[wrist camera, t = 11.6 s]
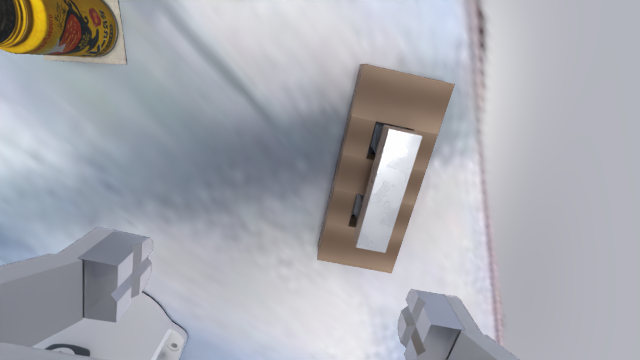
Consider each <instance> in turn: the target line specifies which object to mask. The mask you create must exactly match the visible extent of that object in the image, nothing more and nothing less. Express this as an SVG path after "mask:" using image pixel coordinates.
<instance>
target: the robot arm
mask: <svg viewBox="0 0 640 360" xmlns="http://www.w3.org/2000/svg"><path fill="white" fill-rule="evenodd" d="M152 251H153V240H152V239H151V238H150V237H145V236H140V235H136V234H131V233H126V232H122V231H116V230H113V229H107V228H102V227H99V228H95V229H93V230H92V231H90V232H89V233H87V234H86V235H84V236H83V237H82V238H80V239H79V240H77V241H76V242H74V243H73V244H71V245H70V246H68V247H67V248H65V249H64V250H62V251H61V252H59V253H58V254H56V255H54V254H47V255H43V256H39V257H35V258H31V259H27V260H23V261H18V262H14V263H10V264H6V265H2V266H0V360H180V357H181V354H182V352H183V349H184V346H185V343H186V341H187V333H186V332H185V331H184V330H183V329H182V328H181V327H179V326H178V325H176V324H175V323H173V322H172V321H171V320H170V319H169V318H168V316H167V315H166V314H165V312H164V311H163V309H162V308H161V307H160V306H159V305H158V304H157V303H156V302H155V301H154V300H153V299H151V298H150V297H149V296H147V295H146V294H144V293H142V291H143V289H144V288H145V286H146V284H147V282H148V280H149V277H150V273H151V266H152V263H151V262H150V260H149V258H148V257H147V256H148V255H149V254H150V253H151V252H152ZM406 302H407V304H408V306H407V307H406V308H404V309H403V310H402V311H401V313H400V316H399V319H398V336H399V339H400V342H401V343H402V344H403V345H404V346H405V347H406V351H405V353H404V356H405V359H406V360H520V359H518V358H517V357H516V356H514V355H513V354H512V353H510V352H509V351H508V350H506V349H505V348H504V347H503V346H501V345H500V344H499V343H497V342H496V341H495V340H493V339H492V338H491V337H489V336H488V335H483V334H482V332H481V331H480V329H479V328H478V326H477V324H476V323H475V321H474V320H473V318H472V317H471V315H470V314H469V312H468V310H467V309H466V307H465V306H464V304H463V303H462V301H461V300H460V299H459V298H458V297H457V296H451V295H445V294H437V293H431V292H426V291H420V290H414V289H411V290H410V291H409V293H408V295H407V297H406Z"/></svg>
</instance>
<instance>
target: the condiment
mask: <svg viewBox="0 0 640 360" xmlns="http://www.w3.org/2000/svg"><path fill="white" fill-rule="evenodd" d="M0 49H2V50H4V51H7V52H10V53H15V54H36V55H44V59H45V60H56V61H73V62H91V63H108V64H125V65H127V64H126V56H125V48H124V38H123V31H122V24H121V18H120V10H119V5H118V0H0Z"/></svg>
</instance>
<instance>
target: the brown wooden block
mask: <svg viewBox="0 0 640 360" xmlns="http://www.w3.org/2000/svg"><path fill="white" fill-rule="evenodd" d="M454 85H455V84H452V83H447V82H443V81H438V80H434V79H430V78H425V77H421V76H416V75H412V74H407V73H403V72H398V71H394V70H389V69H385V68H380V67H376V66H372V65H367V64H361V65H360V69H359V73H358V77H357V82H356V86H355V90H354V94H353V99H352V103H351V107H350V111H349V116H348V120H347V124H346V128H345V133H344V137H343V141H342V145H341V150H340V154H339V158H338V162H337V167H336V171H335V175H334V179H333V184H332V188H331V192H330V196H329V201H328V205H327V209H326V213H325V218H324V222H323V226H322V230H321V235H320V239H319V243H318V257H317V260H322V261H327V262H332V263H338V264H343V265H349V266H354V267H360V268H365V269H371V270H376V271H382V272H387V273H392V270H393V267H394V264H395V261H396V259H397V256H398V253H399V250H400V247H401V244H402V241H403V238H404V235H405V232H406V229H407V226H408V223H409V220H410V217H411V214H412V211H413V208H414V205H415V202H416V199H417V196H418V193H419V190H420V187H421V184H422V181H423V178H424V175H425V172H426V169H427V166H428V163H429V160H430V157H431V154H432V151H433V148H434V145H435V142H436V139H437V136H438V133H439V130H440V127H441V124H442V121H443V118H444V115H445V112H446V109H447V106H448V103H449V100H450V97H451V94H452V91H453V88H454ZM376 121H377V122H382V123H386V124H391V125H396V126H400V127H405V128H406V129H407V130H412V131H415V132H417V133H418V134H420V135H421V136H422V139H421V142H420V146H419V149H418V152H417V155H416V158H415V161H414V164H413V168H412V171H411V174H410V177H409V180H408V183H407V186H406V190H405V193H404V196H403V199H402V202H401V205H400V208H399V212H398V215H397V218H396V221H395V224H394V227H393V230H392V234H391V237H390V240H389V243H388V246H387V249H386V252H385V253H383V252H378V251H372V250H367V249H362V248H356V244H355V239H354V232H355V228H356V225H357V221H356V217H355V216H351V214H352V210H353V206H354V202H355V198H356V195H357V194H360V195H365V192H366V188H367V185H368V181H369V177H370V174H371V170H372V166H373V163H374V159H375V156H376V155H374V154H370V153H368V149H369V146H370V142H371V138H372V134H373V131H374V127H375V123H376Z"/></svg>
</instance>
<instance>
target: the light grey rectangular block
mask: <svg viewBox="0 0 640 360" xmlns="http://www.w3.org/2000/svg"><path fill="white" fill-rule="evenodd" d="M421 139H422V136H421V135H420V134H418V133H417V132H415V131H412V130H407V129H402V128H398V127H393V126H388V125H384V126H379V125H376V128H375V131H374V135H373V139H372V143H371V147H372V149H373V150H374V152H375V153H376V156H375V159H374V163H373V166H372V170H371V174H370V177H369V181H368V185H367V188H366V192H365V195H360V194H358V195H357V199H356V203H355V206H354V213H355V217H356V221H357V225H356V228H355V232H354V239H355V244H356V248H362V249H367V250H372V251H378V252H383V253H385V252H386V249H387V246H388V243H389V240H390V237H391V234H392V230H393V227H394V224H395V221H396V218H397V215H398V212H399V208H400V205H401V202H402V199H403V196H404V193H405V190H406V186H407V183H408V180H409V177H410V174H411V171H412V168H413V164H414V161H415V158H416V155H417V152H418V149H419V146H420V142H421Z"/></svg>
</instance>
